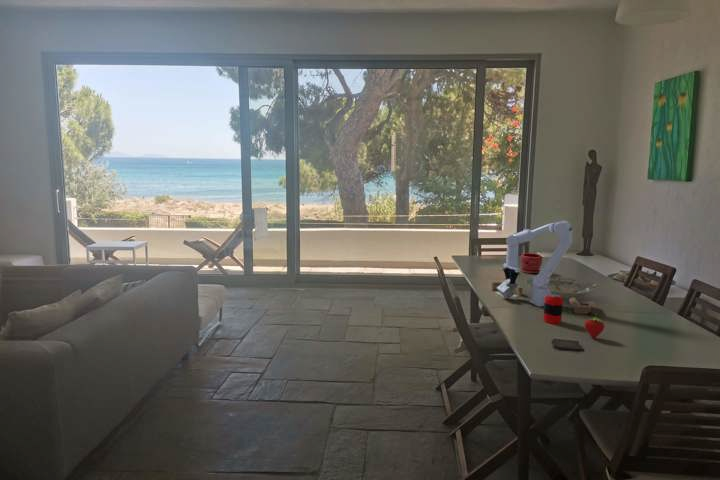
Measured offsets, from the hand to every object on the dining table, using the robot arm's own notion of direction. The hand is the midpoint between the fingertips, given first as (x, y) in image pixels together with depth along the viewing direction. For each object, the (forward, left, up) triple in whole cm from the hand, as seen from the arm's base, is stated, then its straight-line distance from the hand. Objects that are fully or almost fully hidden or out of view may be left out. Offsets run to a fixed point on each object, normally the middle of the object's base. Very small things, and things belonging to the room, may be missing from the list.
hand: (510, 282), depth 257 cm
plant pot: (+59, -45, -9) cm, 75 cm away
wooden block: (-31, -24, -6) cm, 40 cm away
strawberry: (-61, -6, -9) cm, 62 cm away
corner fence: (+10, -4, -8) cm, 14 cm away
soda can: (-39, -1, -9) cm, 40 cm away
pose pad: (+8, -2, -8) cm, 12 cm away
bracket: (-2, 0, -4) cm, 5 cm away
